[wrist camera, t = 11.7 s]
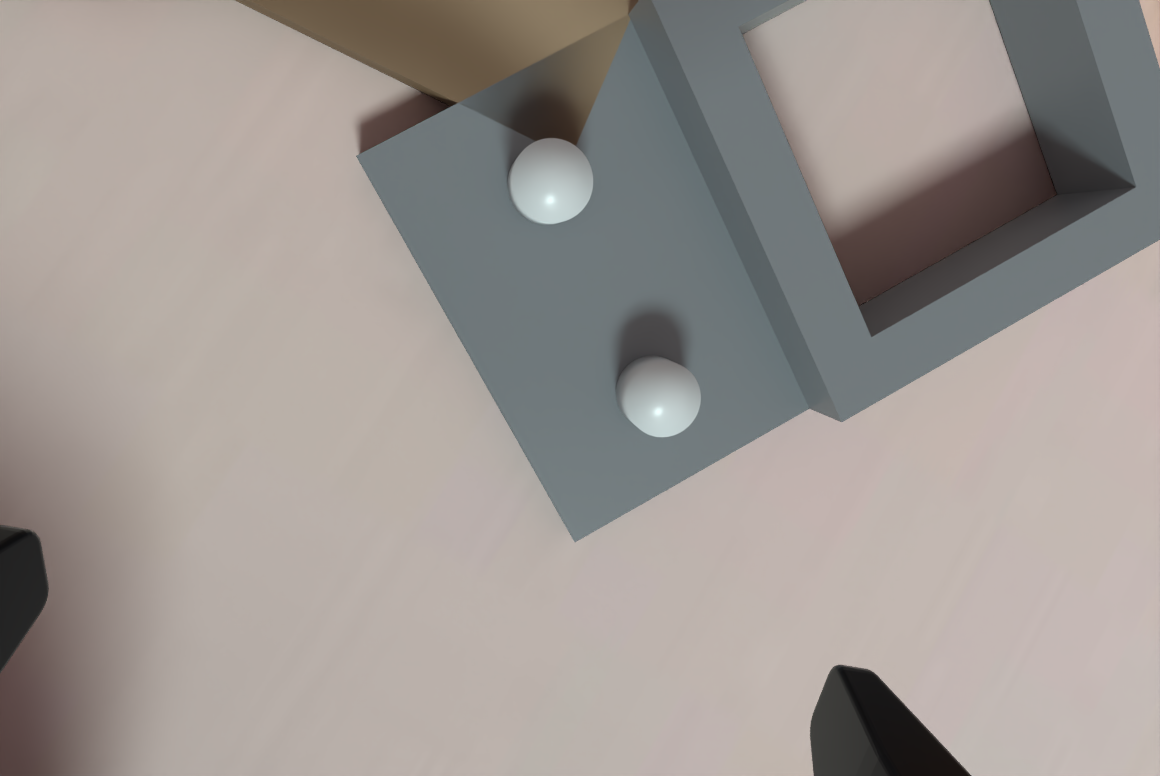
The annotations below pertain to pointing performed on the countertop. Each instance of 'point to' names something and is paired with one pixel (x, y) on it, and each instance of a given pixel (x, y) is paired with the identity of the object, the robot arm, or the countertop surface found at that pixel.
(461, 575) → the countertop surface
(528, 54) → the walnut pad
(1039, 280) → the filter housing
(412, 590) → the countertop surface
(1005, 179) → the countertop surface
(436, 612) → the countertop surface
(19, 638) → the robot arm
